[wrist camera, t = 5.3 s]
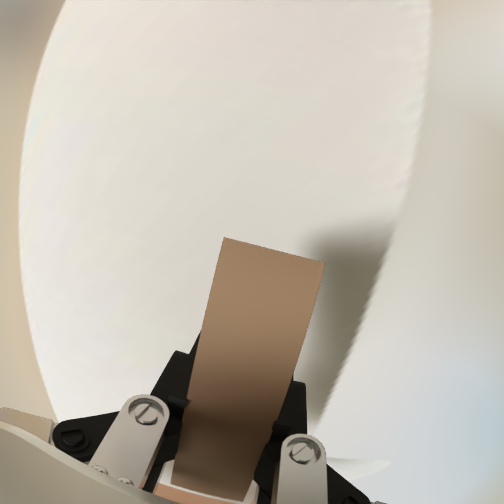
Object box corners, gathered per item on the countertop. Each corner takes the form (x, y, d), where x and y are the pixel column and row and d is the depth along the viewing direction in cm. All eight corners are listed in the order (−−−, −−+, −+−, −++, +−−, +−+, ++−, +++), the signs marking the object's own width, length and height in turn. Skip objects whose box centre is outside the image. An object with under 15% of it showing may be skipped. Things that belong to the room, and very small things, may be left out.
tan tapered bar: (209, 235, 12) (171, 224, 7) (329, 266, 12) (375, 276, 7) (161, 471, 12) (132, 531, 7) (250, 493, 12) (245, 560, 7)
